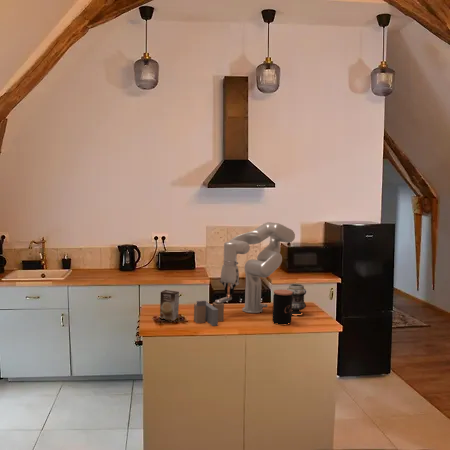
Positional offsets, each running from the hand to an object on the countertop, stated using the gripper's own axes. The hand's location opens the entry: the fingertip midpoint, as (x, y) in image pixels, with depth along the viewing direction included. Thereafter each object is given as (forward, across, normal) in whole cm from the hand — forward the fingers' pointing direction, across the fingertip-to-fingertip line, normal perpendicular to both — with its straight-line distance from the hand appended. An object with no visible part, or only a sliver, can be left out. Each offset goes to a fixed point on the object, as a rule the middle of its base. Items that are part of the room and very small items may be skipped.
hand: (229, 294), depth 297 cm
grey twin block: (+13, +4, +15) cm, 21 cm away
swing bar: (+3, 0, +6) cm, 7 cm away
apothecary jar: (+14, -30, -29) cm, 44 cm away
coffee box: (+13, +23, +27) cm, 38 cm away
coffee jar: (+13, -31, -7) cm, 35 cm away
